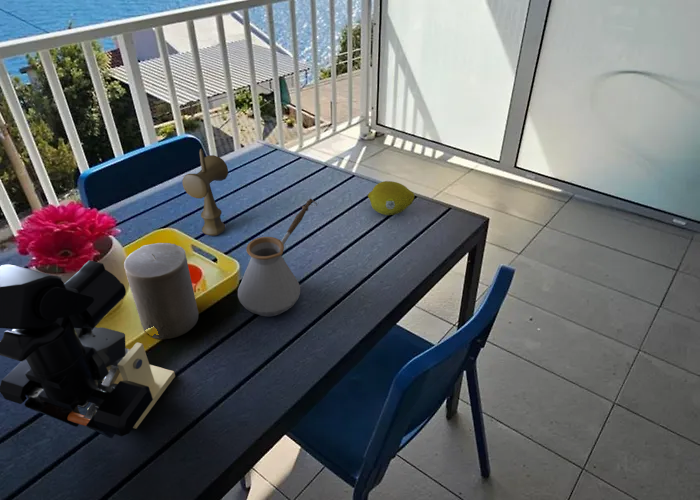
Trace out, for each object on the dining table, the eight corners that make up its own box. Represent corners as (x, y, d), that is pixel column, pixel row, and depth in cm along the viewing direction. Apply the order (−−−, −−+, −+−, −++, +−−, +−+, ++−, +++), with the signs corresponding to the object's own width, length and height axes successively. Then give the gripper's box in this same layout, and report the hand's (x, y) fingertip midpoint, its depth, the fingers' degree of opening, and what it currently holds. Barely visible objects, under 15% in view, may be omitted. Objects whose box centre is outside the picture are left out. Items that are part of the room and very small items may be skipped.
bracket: (136, 428, 71) (119, 384, 66) (89, 414, 73) (68, 370, 67) (175, 376, 79) (163, 332, 73) (132, 364, 81) (117, 320, 75)
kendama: (236, 222, 115) (225, 141, 103) (215, 245, 108) (202, 161, 96) (212, 217, 116) (199, 137, 105) (191, 240, 109) (174, 156, 97)
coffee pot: (277, 332, 87) (271, 265, 78) (226, 309, 92) (215, 243, 83) (338, 267, 103) (339, 205, 94) (291, 250, 107) (288, 189, 98)
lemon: (363, 216, 118) (364, 187, 114) (372, 200, 125) (374, 172, 120) (407, 225, 116) (410, 195, 111) (414, 209, 122) (418, 179, 117)
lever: (107, 433, 67) (97, 429, 65) (73, 422, 68) (63, 418, 66) (146, 357, 73) (138, 351, 70) (113, 348, 74) (105, 342, 72)
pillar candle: (160, 348, 84) (140, 279, 75) (132, 319, 89) (110, 252, 80) (210, 319, 90) (196, 252, 81) (180, 294, 95) (164, 228, 86)
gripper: (163, 325, 63) (186, 399, 73) (43, 294, 67) (80, 368, 77) (105, 395, 55) (140, 469, 65) (-28, 355, 59) (23, 430, 69)
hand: (95, 429), depth 69 cm, fingers closed on lever, 5 cm apart
